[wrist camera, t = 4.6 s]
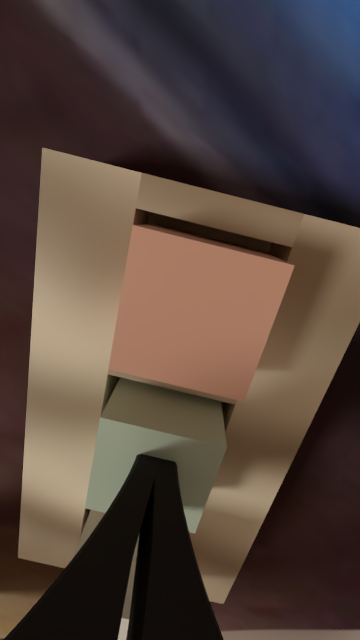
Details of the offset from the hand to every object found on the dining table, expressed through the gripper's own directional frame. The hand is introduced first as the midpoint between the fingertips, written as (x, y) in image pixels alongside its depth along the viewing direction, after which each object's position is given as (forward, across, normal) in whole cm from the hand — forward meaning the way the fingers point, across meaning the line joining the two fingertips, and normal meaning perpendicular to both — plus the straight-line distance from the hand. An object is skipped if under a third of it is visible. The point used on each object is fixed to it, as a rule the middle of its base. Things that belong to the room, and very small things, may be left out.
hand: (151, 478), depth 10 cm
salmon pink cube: (+4, 0, -6) cm, 7 cm away
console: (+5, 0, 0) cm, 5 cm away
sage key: (+4, 0, 0) cm, 4 cm away
